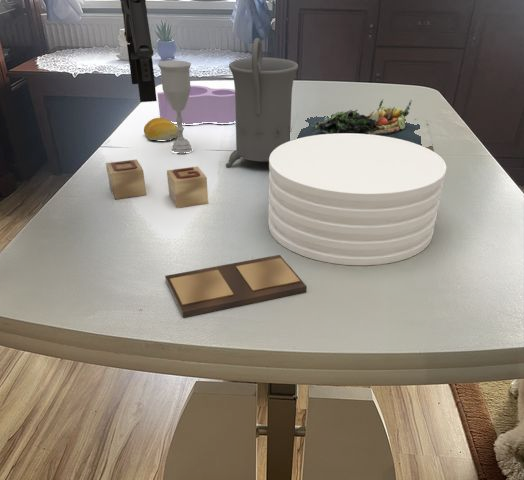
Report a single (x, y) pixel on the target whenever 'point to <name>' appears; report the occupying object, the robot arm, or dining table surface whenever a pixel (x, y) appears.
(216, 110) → the purple block with holes
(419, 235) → the plate stack
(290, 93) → the mug
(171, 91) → the chalice
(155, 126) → the bread roll
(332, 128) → the plated dish
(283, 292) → the word board
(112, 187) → the letter O
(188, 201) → the letter G
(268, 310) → the dining table surface
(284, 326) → the dining table surface
